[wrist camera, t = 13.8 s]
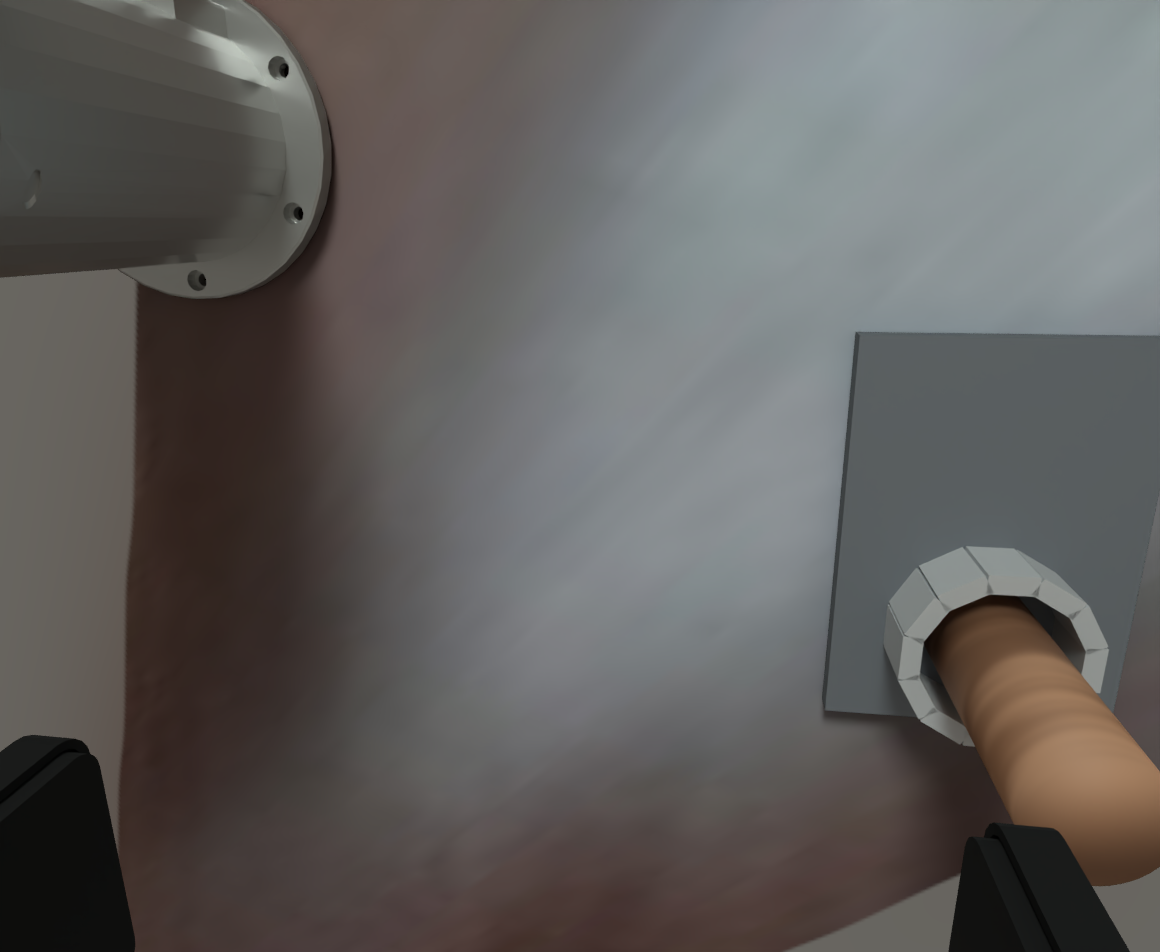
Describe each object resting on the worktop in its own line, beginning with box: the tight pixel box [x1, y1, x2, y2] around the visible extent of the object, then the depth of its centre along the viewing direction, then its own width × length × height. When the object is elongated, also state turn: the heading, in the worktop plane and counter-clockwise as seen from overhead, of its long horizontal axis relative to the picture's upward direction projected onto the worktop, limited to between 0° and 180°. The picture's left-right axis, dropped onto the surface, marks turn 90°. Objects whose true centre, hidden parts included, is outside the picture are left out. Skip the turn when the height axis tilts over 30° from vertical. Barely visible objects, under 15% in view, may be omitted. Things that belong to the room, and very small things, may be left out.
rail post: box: [924, 594, 1160, 886], centre depth 30 cm, size 4×4×12 cm
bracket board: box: [822, 332, 1160, 747], centre depth 33 cm, size 17×12×4 cm
